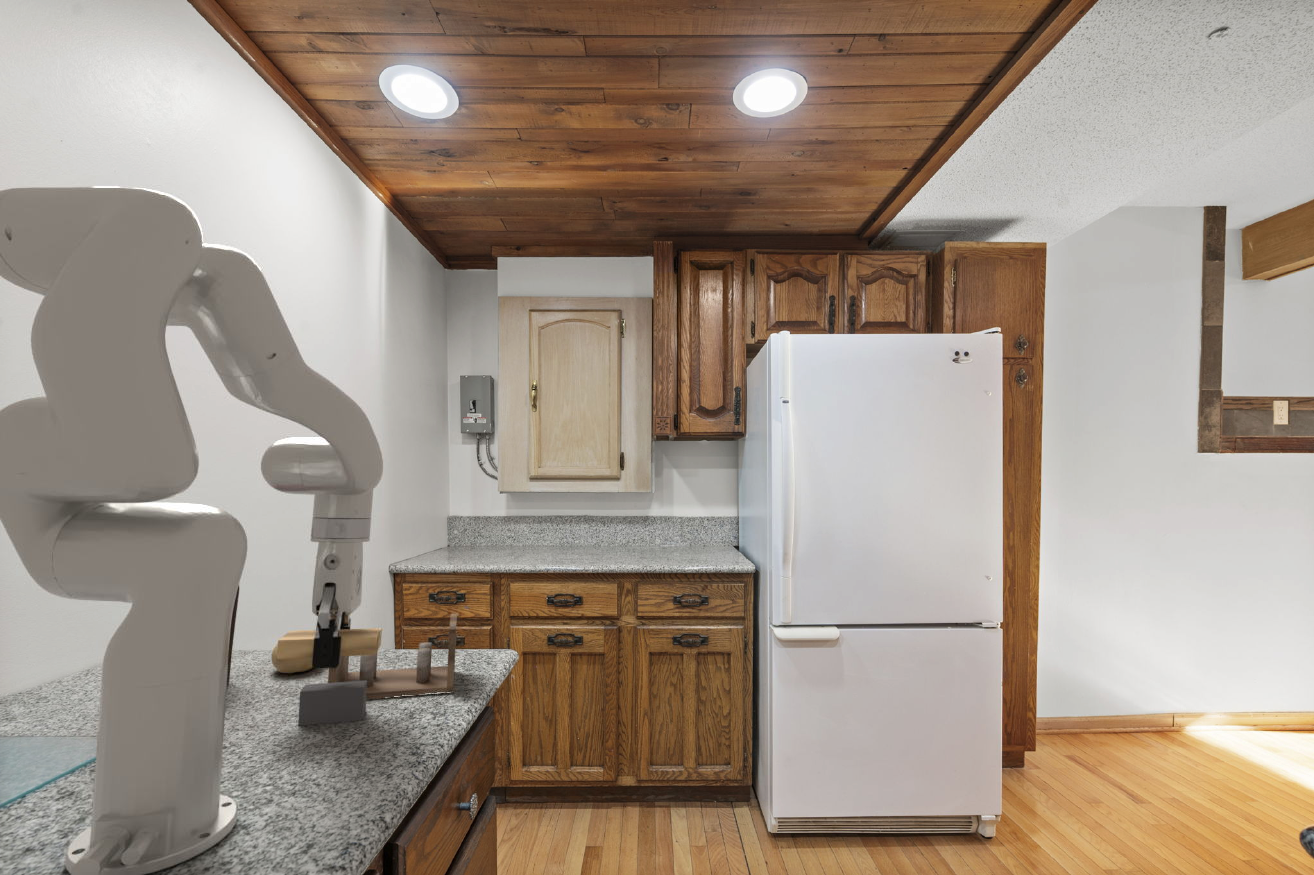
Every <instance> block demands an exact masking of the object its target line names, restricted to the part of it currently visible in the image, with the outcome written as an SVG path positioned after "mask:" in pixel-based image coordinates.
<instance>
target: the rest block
mask: <svg viewBox="0 0 1314 875" xmlns="http://www.w3.org/2000/svg"><path fill="white" fill-rule="evenodd" d="M366 693H367V680H366V681H351V682H337V683H328V682H325V683H322V682H321V683H312V684H311V683H310V684H305V685H304V686H303V687H302V688H301V690H300V691H299V706H298V723H297V726H298V727H299V726H307V725H309V726H310V725H321V724H331V723H332V724H334V723H342V722H343V723H346V722H357V721H363V719H364V717H365V715H366V711H367V710H366V709H367V700H366Z"/></svg>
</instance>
